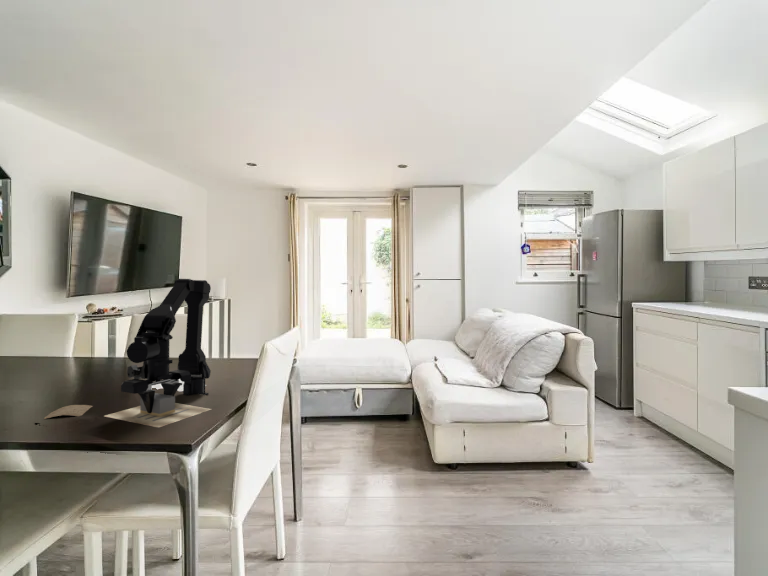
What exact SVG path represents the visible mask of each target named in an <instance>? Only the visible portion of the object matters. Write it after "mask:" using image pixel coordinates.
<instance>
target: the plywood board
mask: <svg viewBox="0 0 768 576" xmlns="http://www.w3.org/2000/svg"><path fill="white" fill-rule="evenodd" d="M212 410H213V409H212V408H208V407H202V406H201V407H200V406H195V405H189V404H183V403H178V402H175V412H172V413H169V414H166V415H163V416H155V415H150V414H145V413H140V405H138V406H134V407H131V408H128V409H127V408H126V409H123V410H119V411H117V412H114V413H109V414H105V415H104V418H105V417H106V418H111V419H116V420H121V421H125V422H130V423H135V424H139V425H140V424H141V425H144V426H150V427H153V428H162V427H164V426H167V425H171V424H173V423H177V422H179V421H182V420H185V419H188V418H191V417H193V416H194V417H195V416H196V415H200V414H202V413H205V412H208V411H212Z"/></svg>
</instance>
